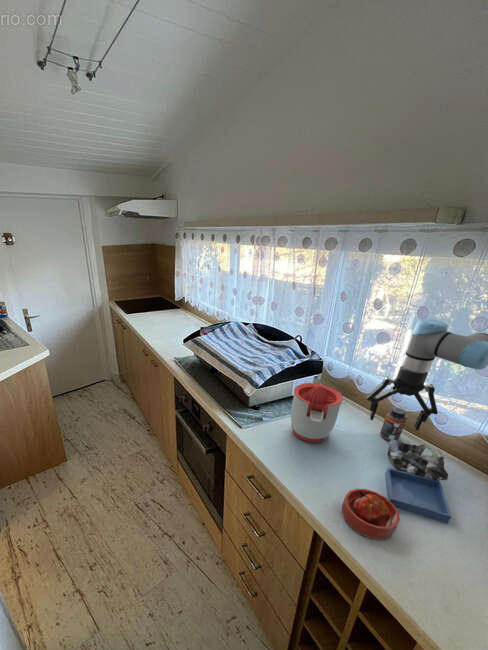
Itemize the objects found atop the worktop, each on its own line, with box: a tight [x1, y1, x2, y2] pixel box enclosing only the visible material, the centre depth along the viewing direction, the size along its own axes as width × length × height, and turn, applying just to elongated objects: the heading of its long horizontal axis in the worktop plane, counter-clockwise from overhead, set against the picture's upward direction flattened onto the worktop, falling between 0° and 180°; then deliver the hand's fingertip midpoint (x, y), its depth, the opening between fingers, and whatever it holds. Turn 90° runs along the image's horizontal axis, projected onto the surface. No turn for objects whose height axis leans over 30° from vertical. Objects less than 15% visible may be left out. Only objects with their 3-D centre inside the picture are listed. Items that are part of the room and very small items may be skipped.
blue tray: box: [384, 467, 453, 525], centre depth 85 cm, size 13×13×3 cm
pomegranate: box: [354, 490, 389, 526], centre depth 78 cm, size 7×7×10 cm
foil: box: [387, 439, 449, 482], centre depth 94 cm, size 12×11×15 cm
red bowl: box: [341, 488, 401, 540], centre depth 79 cm, size 12×12×4 cm
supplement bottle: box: [379, 407, 407, 442], centre depth 107 cm, size 6×6×11 cm
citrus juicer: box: [290, 382, 344, 444], centre depth 107 cm, size 16×17×20 cm
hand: (393, 423), depth 107 cm, fingers open, 13 cm apart
